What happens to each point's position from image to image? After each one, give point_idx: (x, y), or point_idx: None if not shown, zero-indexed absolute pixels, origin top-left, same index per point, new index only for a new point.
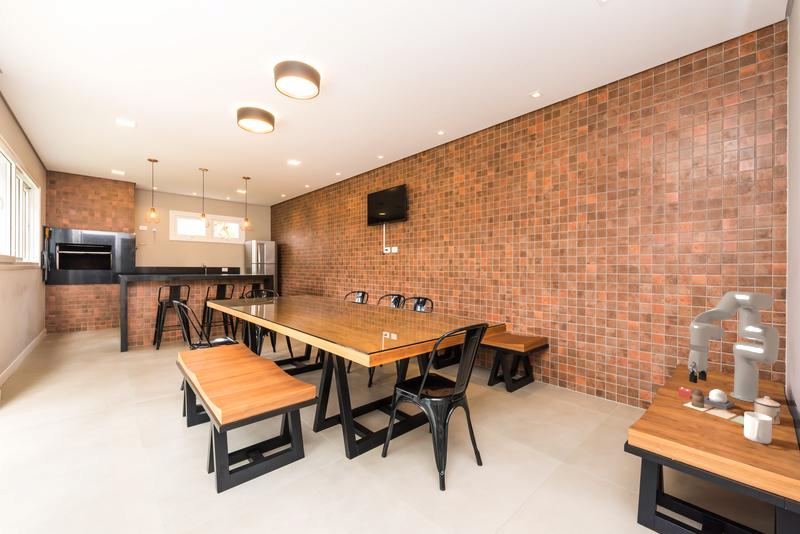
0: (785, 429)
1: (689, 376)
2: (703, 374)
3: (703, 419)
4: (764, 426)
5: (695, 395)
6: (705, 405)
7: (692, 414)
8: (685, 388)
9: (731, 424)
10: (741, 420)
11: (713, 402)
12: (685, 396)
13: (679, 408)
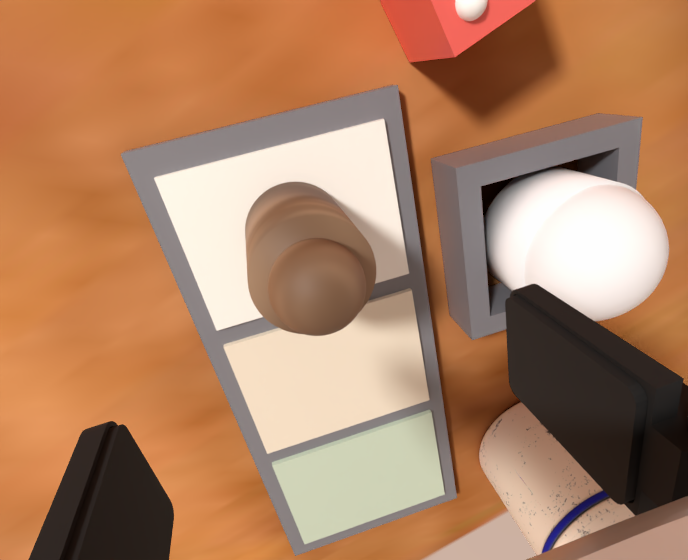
0: (481, 517)
1: (38, 540)
2: (596, 452)
3: (102, 410)
4: None
5: (250, 293)
6: (384, 234)
7: (92, 328)
8: None
9: (244, 475)
10: (344, 470)
11: (462, 260)
12: (403, 14)
13: (79, 198)
